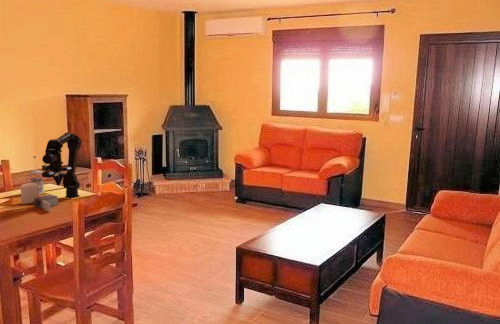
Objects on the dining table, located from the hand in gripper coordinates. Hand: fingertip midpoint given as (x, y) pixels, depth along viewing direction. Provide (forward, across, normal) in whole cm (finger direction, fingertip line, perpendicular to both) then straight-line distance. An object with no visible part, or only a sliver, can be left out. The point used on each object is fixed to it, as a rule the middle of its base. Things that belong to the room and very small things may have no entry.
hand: (58, 185), depth 262 cm
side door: (+11, +15, +4) cm, 19 cm away
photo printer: (+12, +5, -18) cm, 22 cm away
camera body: (+11, +7, -4) cm, 14 cm away
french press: (+12, -16, -36) cm, 41 cm away
